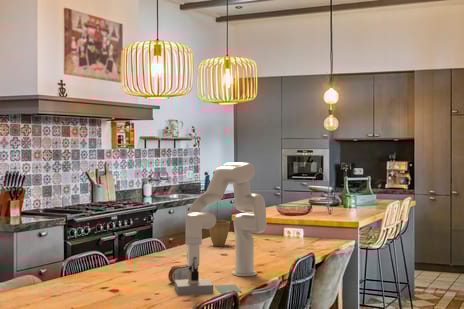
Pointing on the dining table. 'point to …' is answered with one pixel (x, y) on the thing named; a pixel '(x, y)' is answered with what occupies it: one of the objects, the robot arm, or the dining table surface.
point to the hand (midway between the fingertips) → (193, 278)
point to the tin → (179, 273)
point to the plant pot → (219, 233)
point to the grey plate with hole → (193, 287)
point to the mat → (227, 288)
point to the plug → (191, 280)
